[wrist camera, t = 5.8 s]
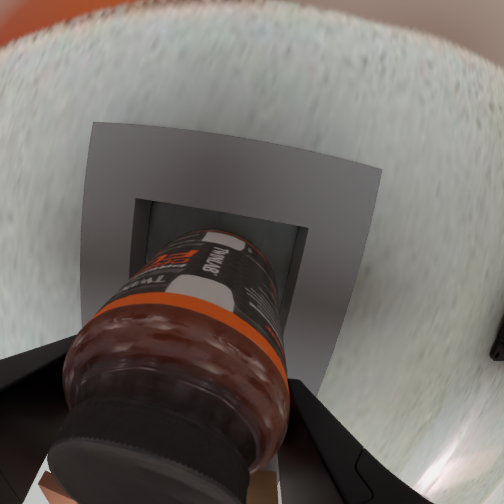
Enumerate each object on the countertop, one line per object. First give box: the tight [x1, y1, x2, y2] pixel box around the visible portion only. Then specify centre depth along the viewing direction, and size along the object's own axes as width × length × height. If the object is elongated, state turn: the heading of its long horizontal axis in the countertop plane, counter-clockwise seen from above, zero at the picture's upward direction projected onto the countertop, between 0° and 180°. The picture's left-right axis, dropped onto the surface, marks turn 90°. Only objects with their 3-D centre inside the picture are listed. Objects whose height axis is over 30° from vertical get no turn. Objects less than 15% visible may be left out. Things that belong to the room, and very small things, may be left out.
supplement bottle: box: [47, 230, 290, 504], centre depth 10 cm, size 6×6×11 cm
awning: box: [38, 470, 278, 504], centre depth 14 cm, size 13×6×8 cm, turn 80°
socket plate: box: [80, 122, 382, 485], centre depth 17 cm, size 13×22×2 cm, turn 170°
